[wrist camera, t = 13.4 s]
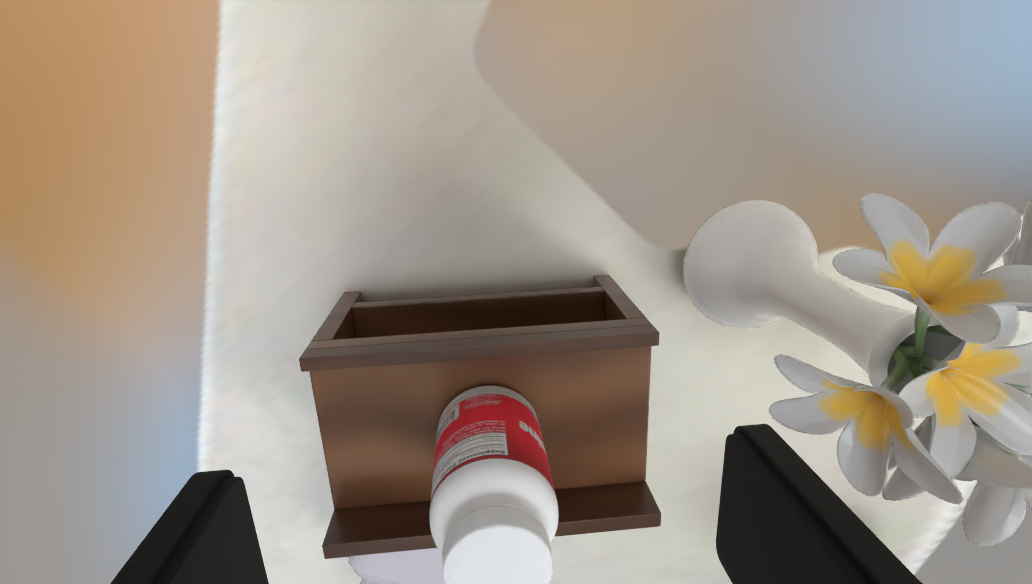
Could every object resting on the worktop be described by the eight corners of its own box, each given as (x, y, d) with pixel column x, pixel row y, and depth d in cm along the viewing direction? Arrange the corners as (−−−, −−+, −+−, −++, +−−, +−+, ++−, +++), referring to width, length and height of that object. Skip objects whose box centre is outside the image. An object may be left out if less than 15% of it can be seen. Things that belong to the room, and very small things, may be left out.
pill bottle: (544, 459, 34) (579, 613, 24) (448, 477, 34) (440, 640, 23) (530, 372, 32) (561, 498, 22) (428, 391, 32) (409, 527, 21)
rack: (343, 292, 40) (288, 374, 28) (609, 275, 41) (671, 345, 29) (365, 431, 44) (324, 559, 31) (607, 411, 45) (660, 526, 33)
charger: (337, 579, 48) (389, 442, 44) (435, 602, 50) (494, 472, 46) (323, 627, 44) (380, 480, 40) (431, 650, 46) (496, 511, 42)
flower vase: (764, 375, 45) (1088, 662, 22) (593, 259, 41) (767, 462, 17) (874, 250, 43) (1382, 422, 19) (703, 109, 38) (1091, 107, 14)
